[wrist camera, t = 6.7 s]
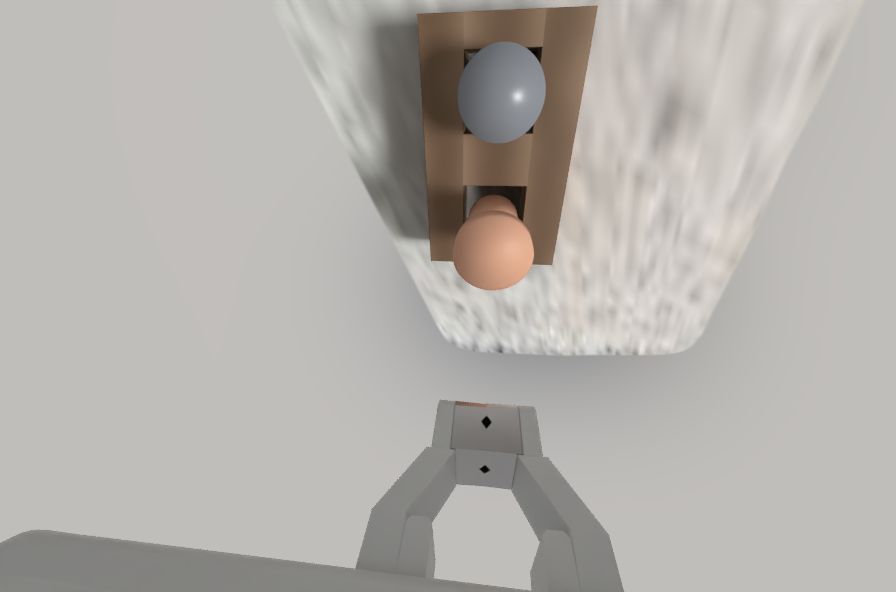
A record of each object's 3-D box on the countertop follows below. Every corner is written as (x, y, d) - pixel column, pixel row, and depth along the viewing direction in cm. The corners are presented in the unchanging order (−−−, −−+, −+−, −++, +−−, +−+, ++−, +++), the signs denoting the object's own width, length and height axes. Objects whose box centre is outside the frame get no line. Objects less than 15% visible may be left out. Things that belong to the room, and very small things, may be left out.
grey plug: (538, 47, 22) (552, 39, 17) (529, 128, 24) (539, 143, 19) (465, 50, 22) (457, 43, 17) (465, 129, 25) (457, 143, 20)
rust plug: (529, 186, 23) (539, 218, 18) (522, 248, 26) (528, 291, 21) (461, 185, 24) (452, 216, 19) (461, 246, 26) (453, 288, 21)
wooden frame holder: (581, 16, 21) (597, 5, 18) (545, 244, 30) (551, 264, 27) (428, 22, 22) (417, 13, 19) (437, 240, 31) (431, 260, 28)
